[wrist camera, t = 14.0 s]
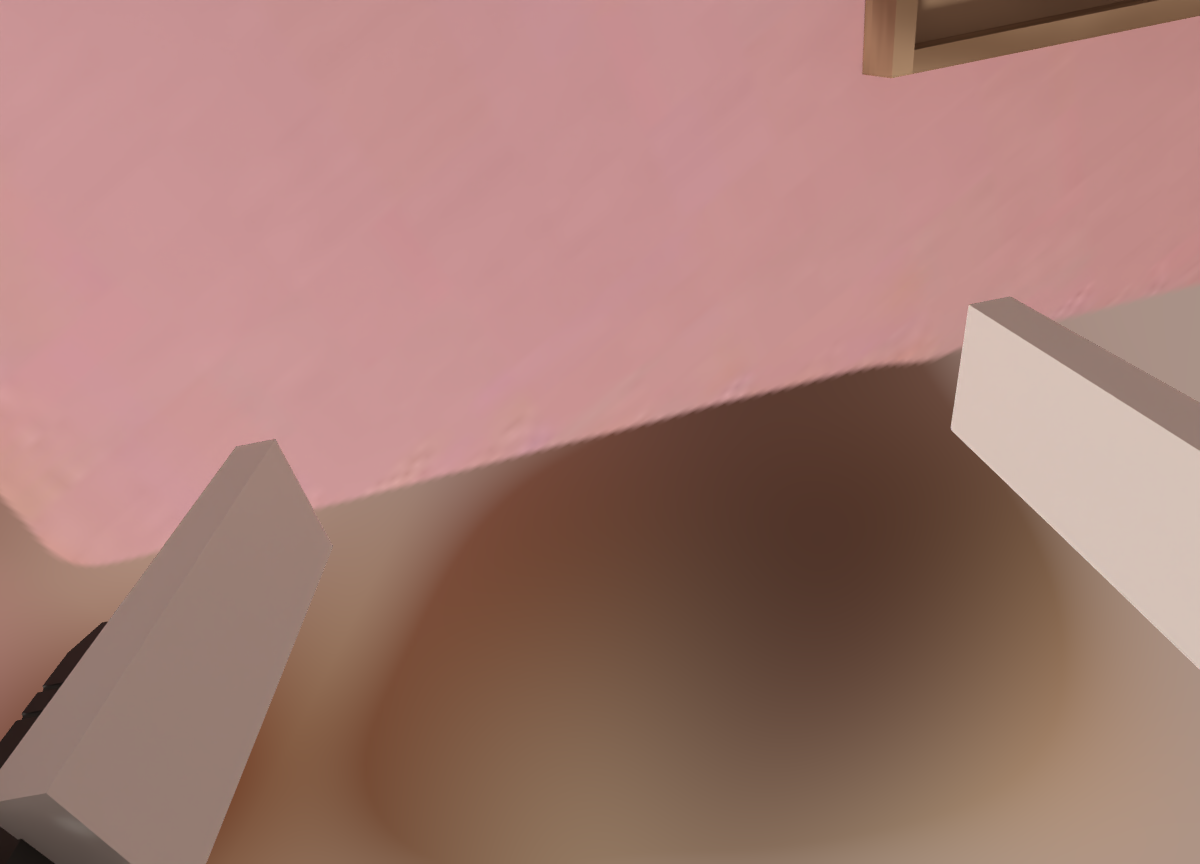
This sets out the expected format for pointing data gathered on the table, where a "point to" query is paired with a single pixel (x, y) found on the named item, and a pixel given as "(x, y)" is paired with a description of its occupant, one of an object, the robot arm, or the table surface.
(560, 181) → the table surface
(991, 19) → the tray
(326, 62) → the table surface
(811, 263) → the table surface
